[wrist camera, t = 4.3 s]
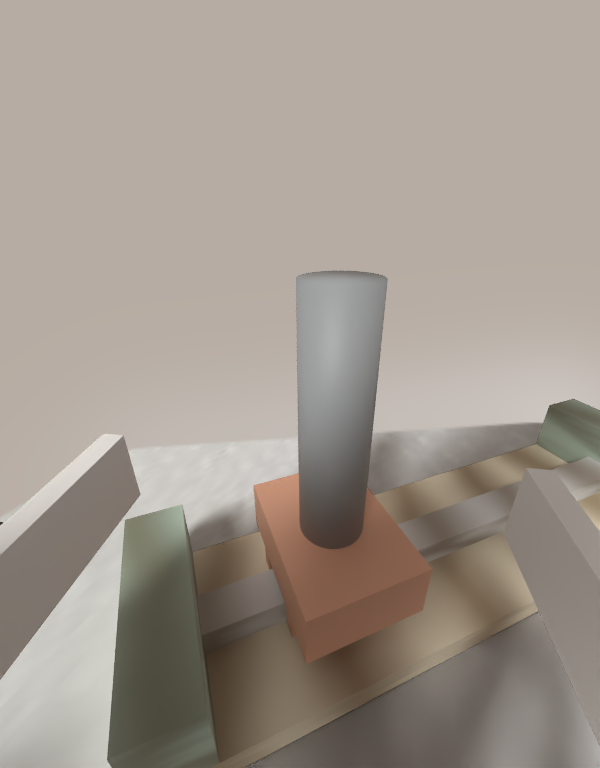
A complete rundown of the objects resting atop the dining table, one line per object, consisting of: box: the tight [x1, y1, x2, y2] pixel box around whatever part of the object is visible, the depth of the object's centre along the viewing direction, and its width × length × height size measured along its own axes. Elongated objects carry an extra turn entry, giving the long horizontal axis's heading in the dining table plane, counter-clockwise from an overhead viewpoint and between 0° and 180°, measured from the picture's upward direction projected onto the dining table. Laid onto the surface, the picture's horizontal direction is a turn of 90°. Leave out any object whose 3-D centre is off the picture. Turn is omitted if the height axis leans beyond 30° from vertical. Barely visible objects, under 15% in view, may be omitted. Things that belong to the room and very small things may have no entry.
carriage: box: [254, 271, 433, 664], centre depth 16 cm, size 6×8×16 cm
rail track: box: [107, 399, 600, 768], centre depth 22 cm, size 36×10×6 cm, turn 111°
